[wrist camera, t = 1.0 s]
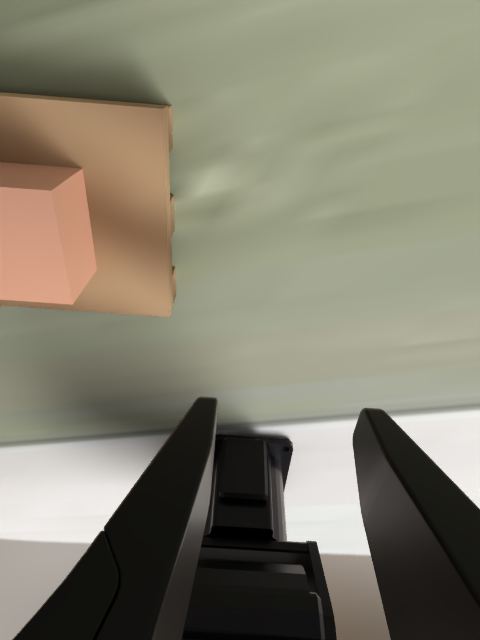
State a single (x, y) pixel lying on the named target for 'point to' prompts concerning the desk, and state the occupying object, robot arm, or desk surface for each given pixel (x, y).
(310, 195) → the desk surface
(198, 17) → the desk surface
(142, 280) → the pallet
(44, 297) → the salmon pink block
